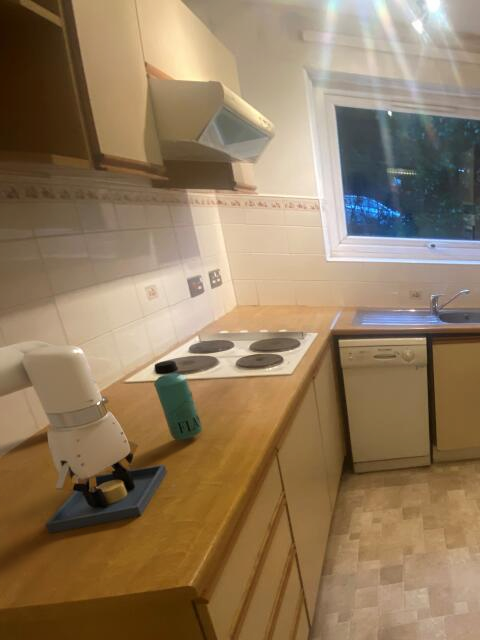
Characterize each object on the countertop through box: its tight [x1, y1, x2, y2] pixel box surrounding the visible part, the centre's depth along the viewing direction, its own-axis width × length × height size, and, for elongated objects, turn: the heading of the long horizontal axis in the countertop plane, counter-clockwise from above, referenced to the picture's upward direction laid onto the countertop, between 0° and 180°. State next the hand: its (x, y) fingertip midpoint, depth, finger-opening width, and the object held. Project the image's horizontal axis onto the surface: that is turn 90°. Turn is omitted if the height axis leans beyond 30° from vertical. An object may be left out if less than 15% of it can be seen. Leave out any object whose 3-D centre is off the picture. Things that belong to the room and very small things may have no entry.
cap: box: [97, 480, 128, 504], centre depth 84 cm, size 4×4×3 cm
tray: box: [45, 464, 168, 534], centre depth 85 cm, size 13×15×2 cm
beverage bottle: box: [153, 360, 203, 440], centre depth 103 cm, size 6×7×20 cm
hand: (113, 496), depth 85 cm, fingers open, 5 cm apart
